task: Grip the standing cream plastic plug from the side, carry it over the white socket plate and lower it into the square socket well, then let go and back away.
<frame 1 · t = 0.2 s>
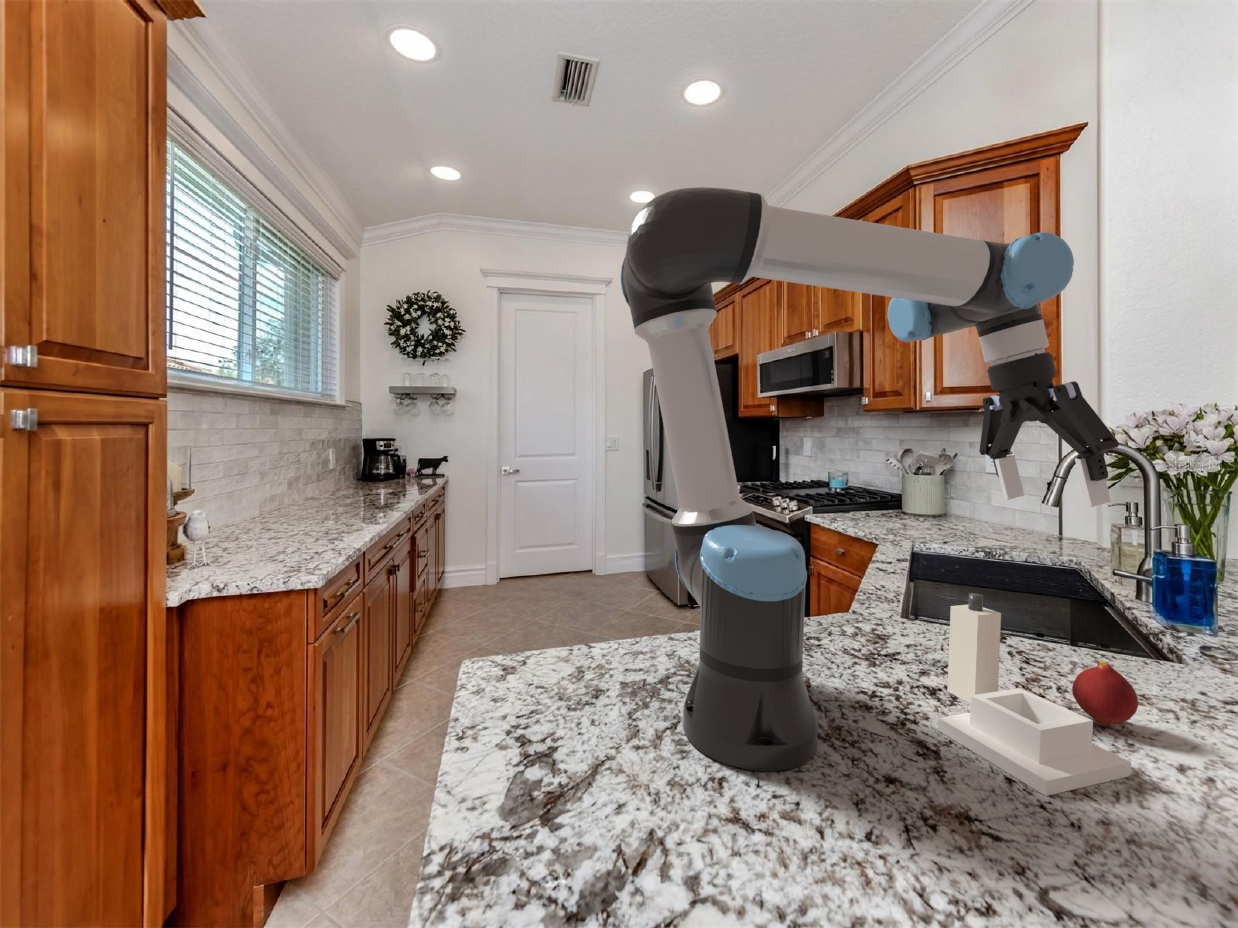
hand: (1052, 500, 74), 26 cm above the countertop, tool tilted 15°, fingers open, 13 cm apart
onion: (1102, 726, 63), on the countertop
socket: (1027, 751, 57), on the countertop
plug: (971, 696, 70), on the countertop
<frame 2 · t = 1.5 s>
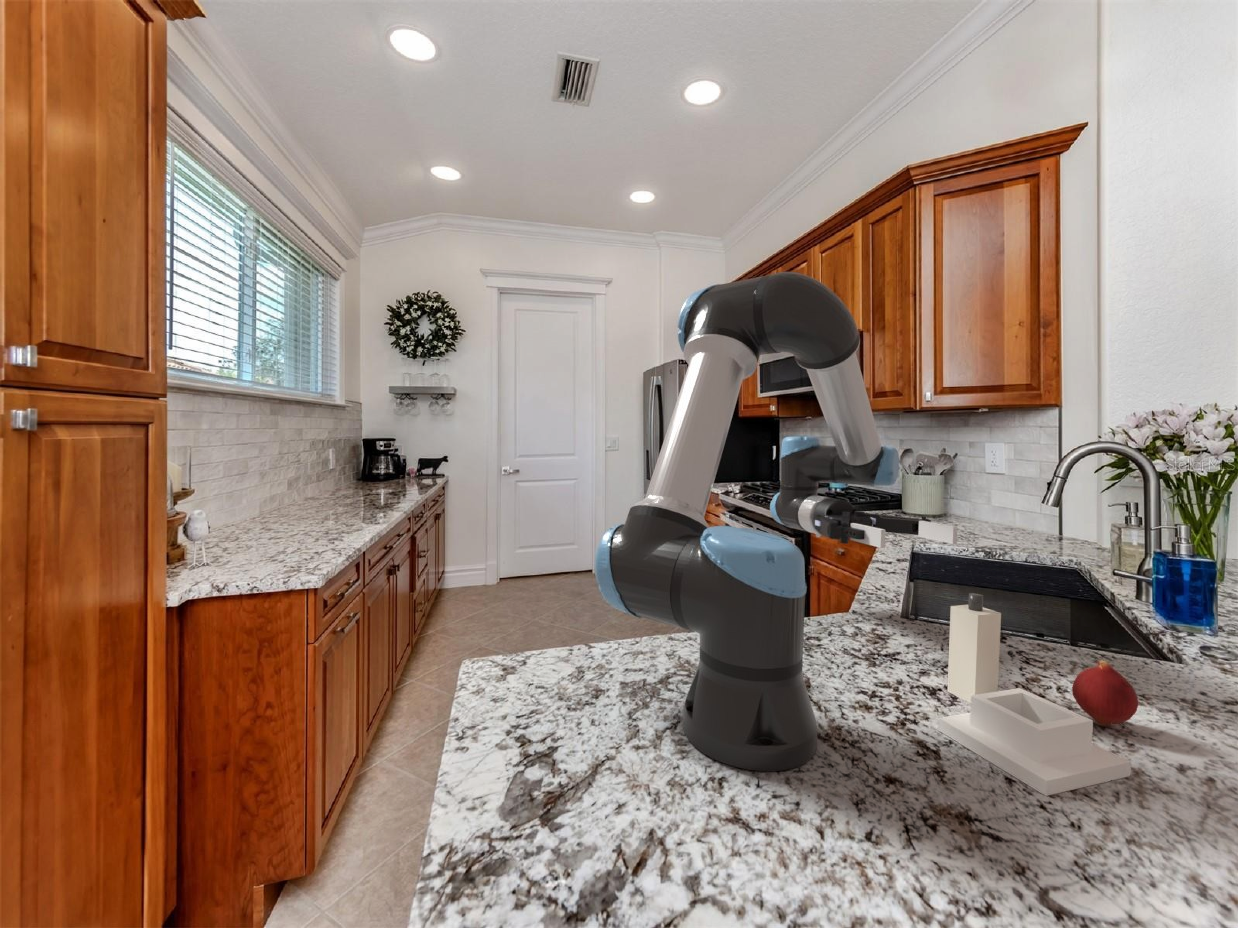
hand: (920, 537, 78), 20 cm above the countertop, tool horizontal, fingers open, 13 cm apart
nothing on the countertop moved.
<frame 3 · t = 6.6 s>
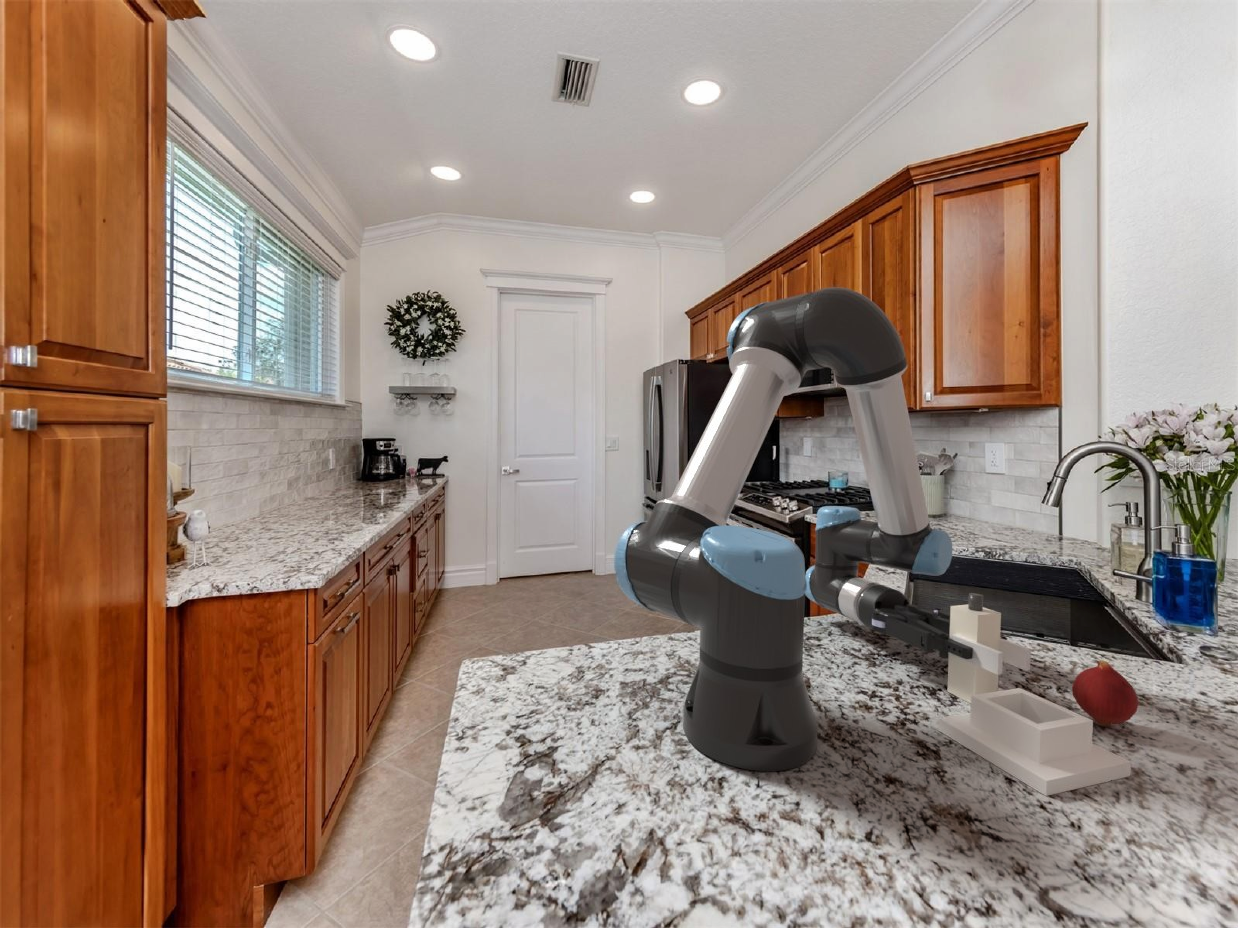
hand: (1014, 661, 65), 7 cm above the countertop, tool horizontal, fingers closed on plug, 4 cm apart
plug: (971, 696, 70), on the countertop, touching gripper
everything else where it was.
when the fingers open (10 cm above the countertop, at t = 11.1 s): plug drops 1 cm, resting on socket.
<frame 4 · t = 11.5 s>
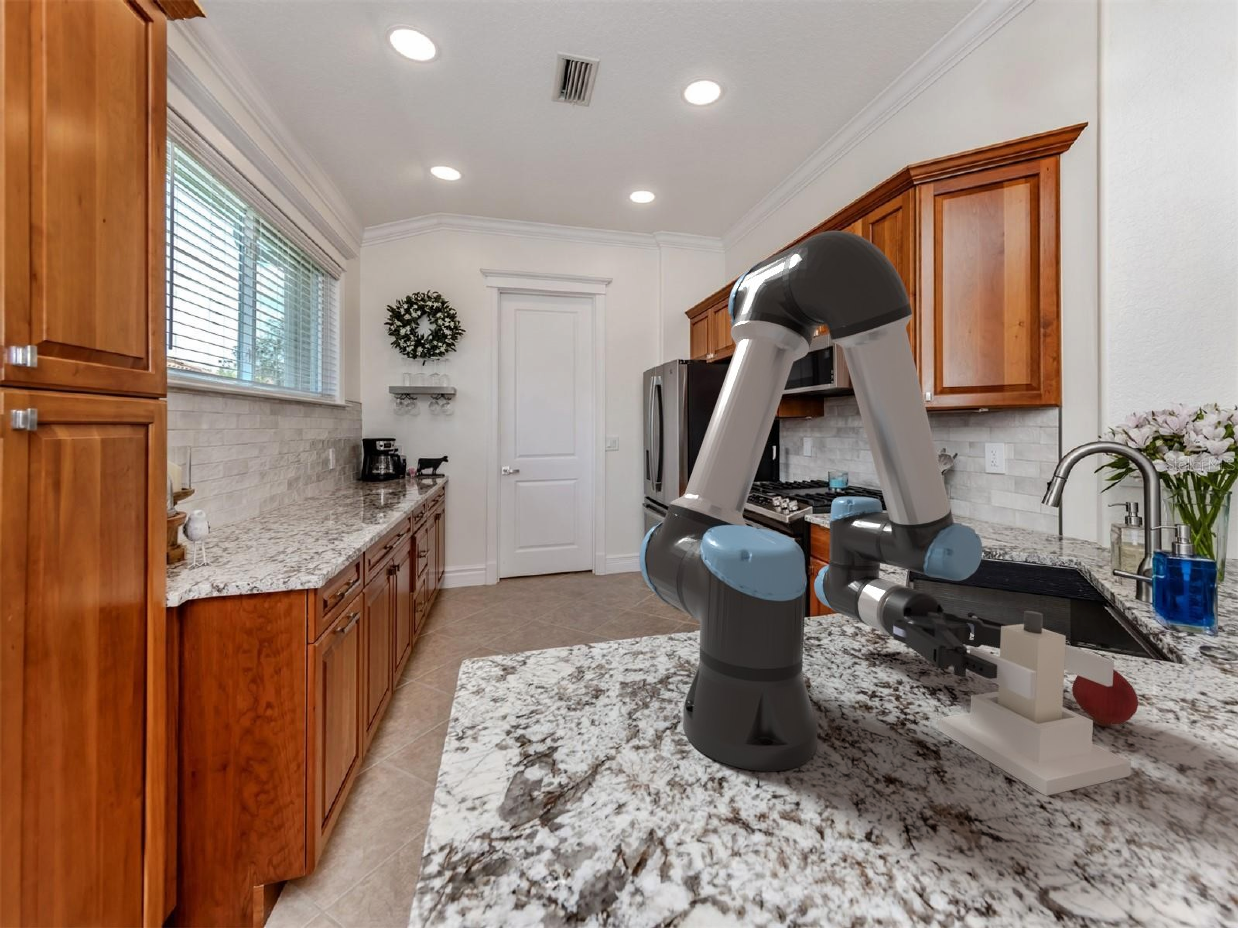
hand: (1073, 679, 53), 10 cm above the countertop, tool horizontal, fingers open, 10 cm apart
plug: (1027, 737, 57), point 2 cm above the countertop, touching socket
everything else where it was.
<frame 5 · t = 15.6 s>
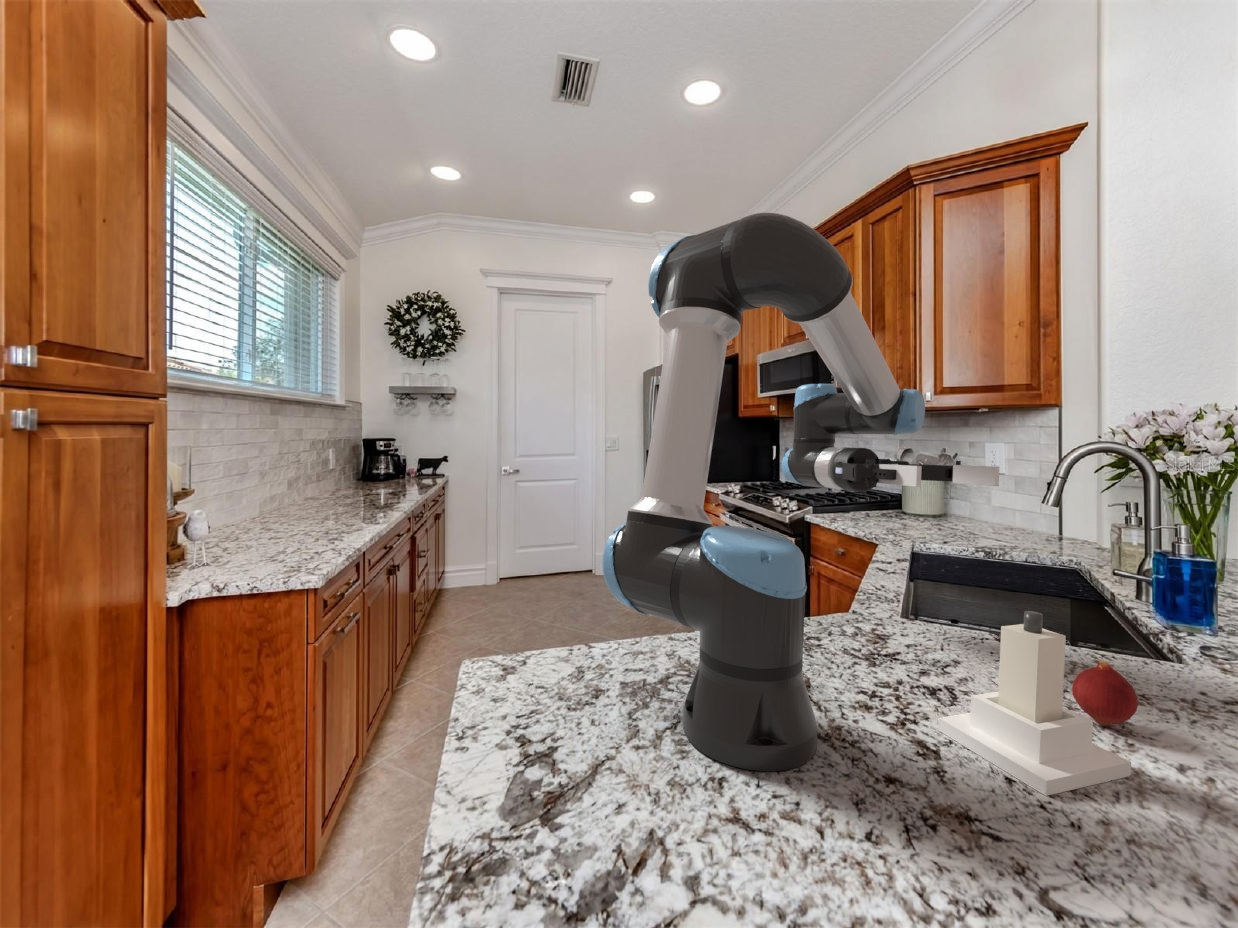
hand: (959, 476, 70), 30 cm above the countertop, tool horizontal, fingers open, 13 cm apart
nothing on the countertop moved.
at the end: plug 0.0 cm off-centre on the socket, point 1.6 cm above the socket's base; plug tilted 0°; the gripper is holding nothing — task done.
